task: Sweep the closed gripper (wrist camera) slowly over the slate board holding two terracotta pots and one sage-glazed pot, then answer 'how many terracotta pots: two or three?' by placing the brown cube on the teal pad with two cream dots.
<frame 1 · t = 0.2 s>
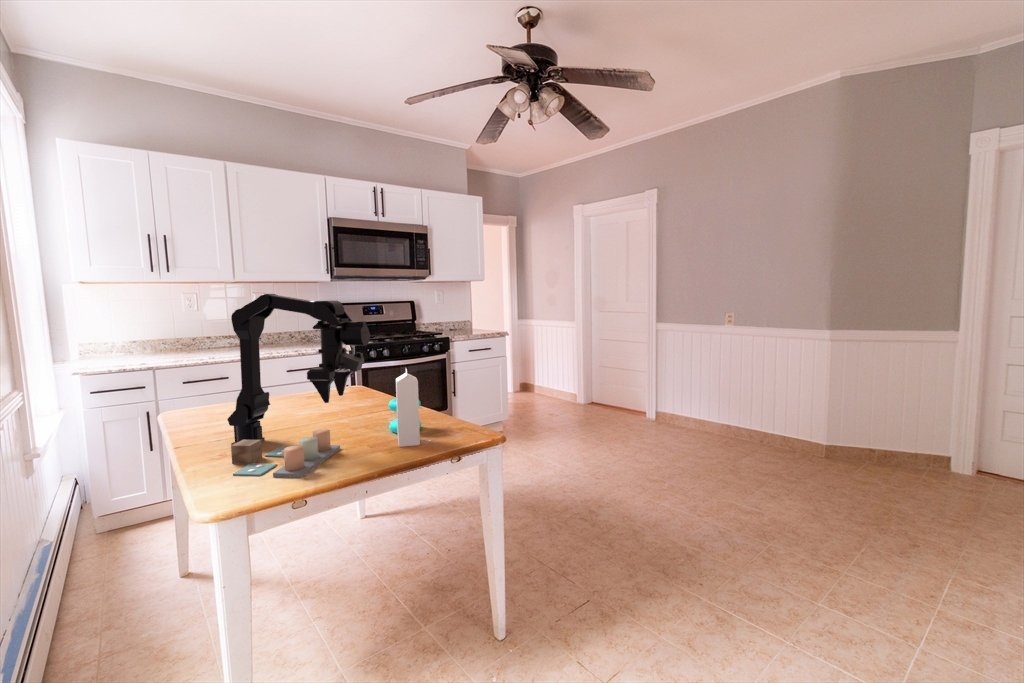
hand: (334, 399, 133), 14 cm above the table, fingers open, 9 cm apart
pad three: (284, 452, 129), on the table
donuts: (405, 430, 150), on the table
milk: (408, 443, 136), on the table
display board: (309, 461, 122), on the table
pad two: (255, 470, 116), on the table
brown cube: (247, 460, 123), on the table
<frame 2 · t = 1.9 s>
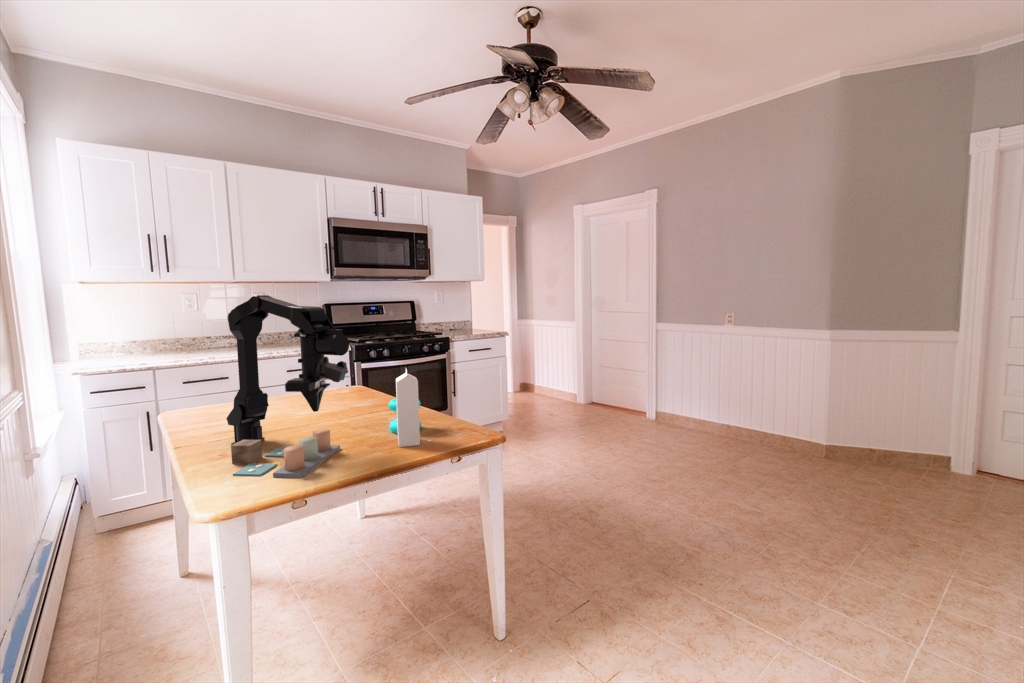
hand: (315, 411, 126), 12 cm above the table, fingers closed
nothing on the table moved.
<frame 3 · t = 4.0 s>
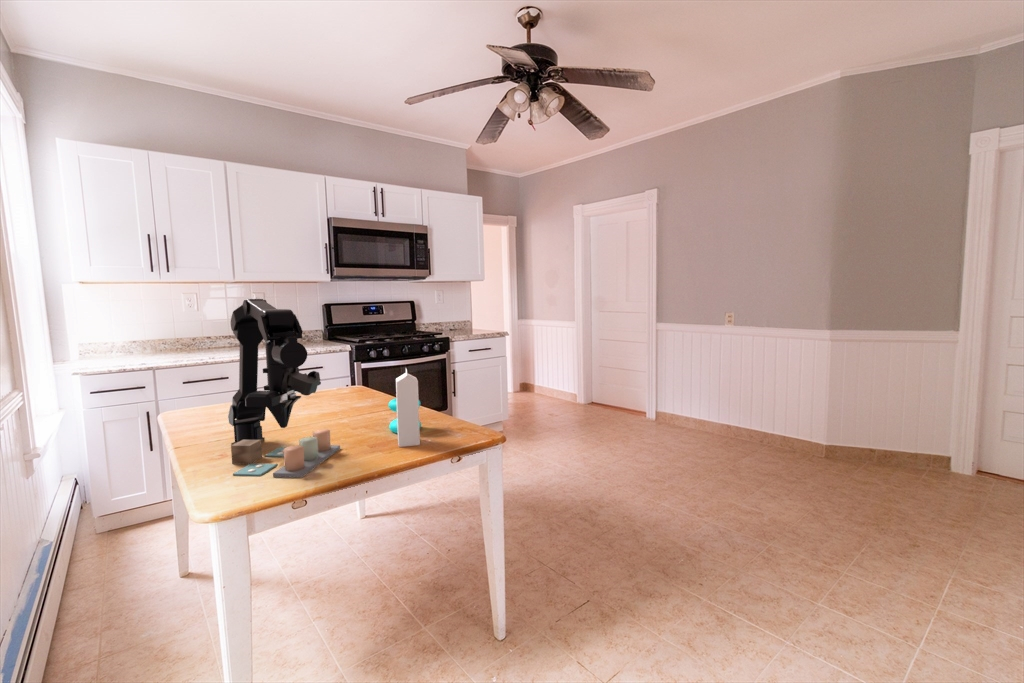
hand: (283, 427, 111), 12 cm above the table, fingers closed
nothing on the table moved.
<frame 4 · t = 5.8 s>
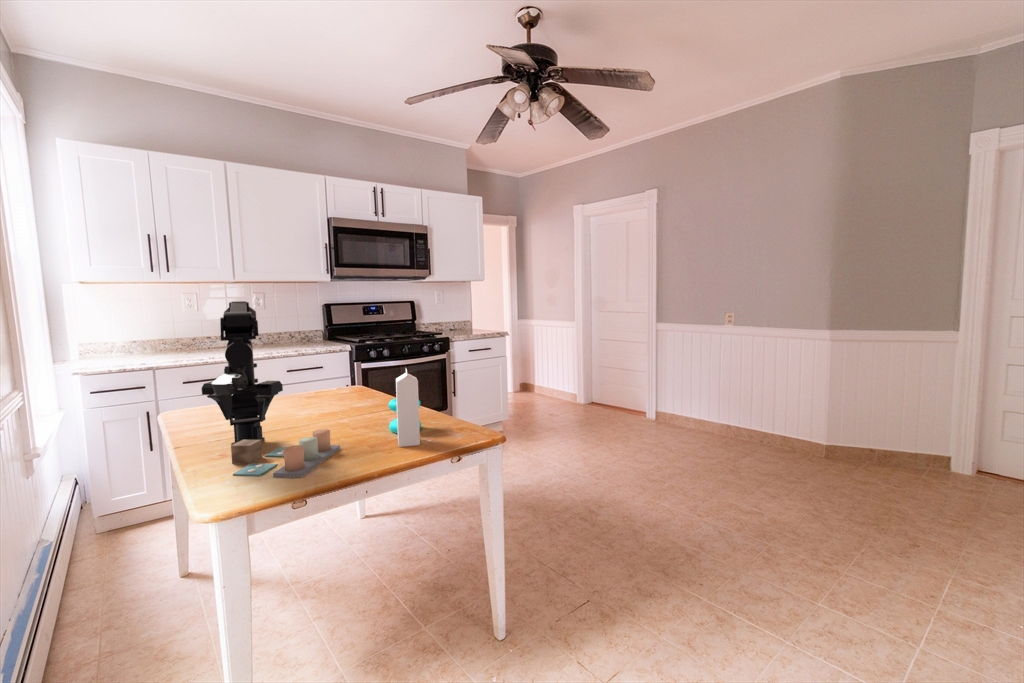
hand: (244, 419, 122), 11 cm above the table, fingers open, 9 cm apart
nothing on the table moved.
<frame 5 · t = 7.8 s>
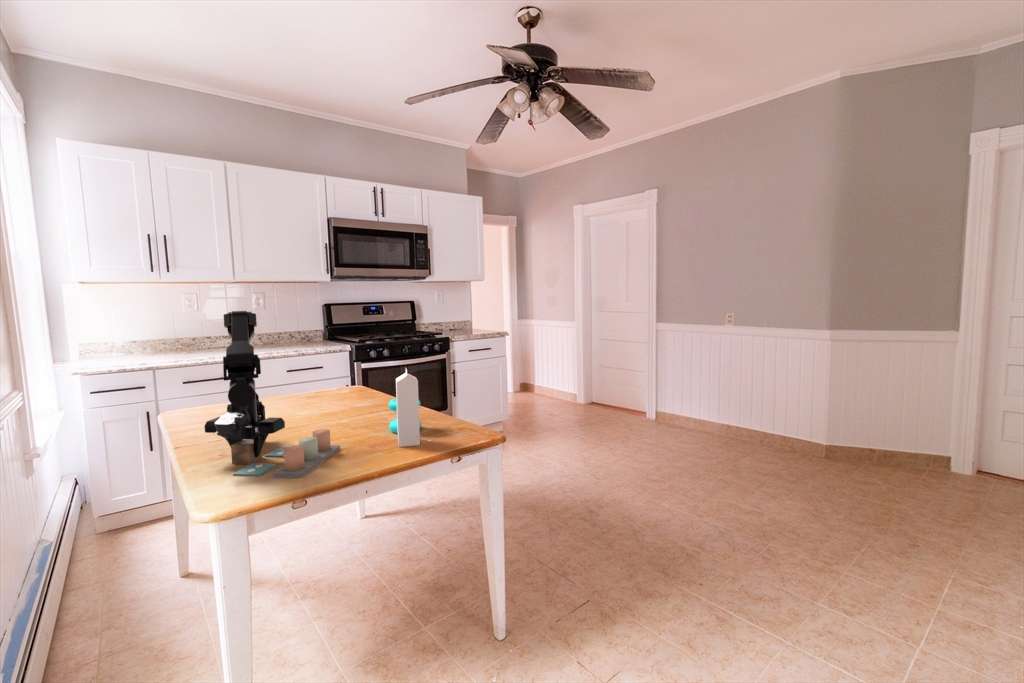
hand: (247, 456, 123), 1 cm above the table, fingers closed on brown cube, 5 cm apart
brown cube: (247, 460, 123), on the table, touching gripper
everything else where it was.
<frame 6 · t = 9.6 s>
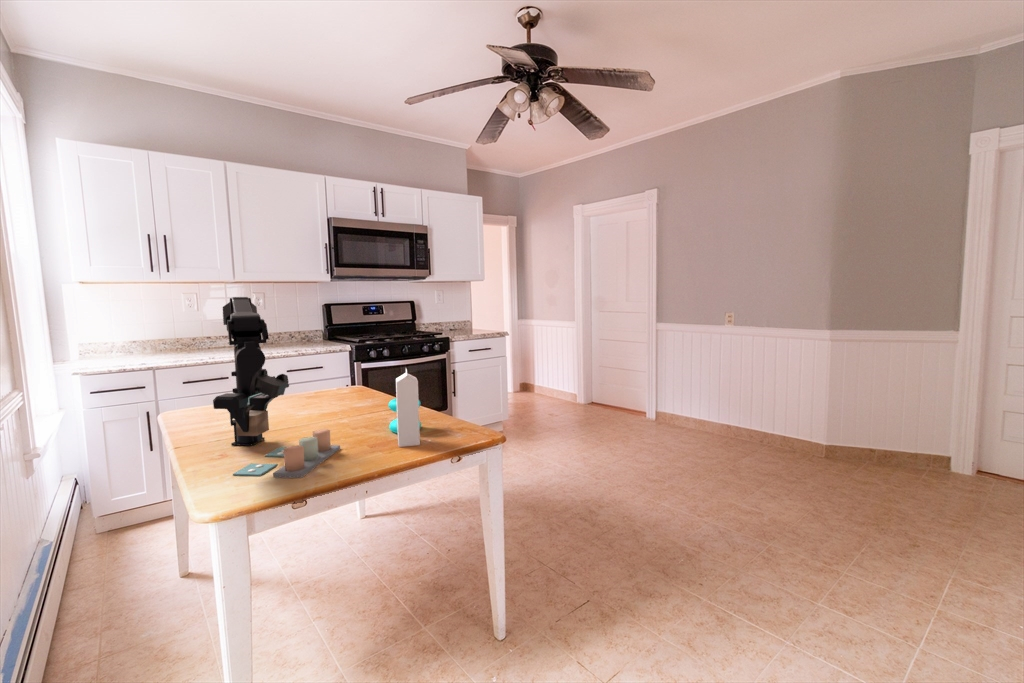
hand: (252, 428, 115), 11 cm above the table, fingers closed on brown cube, 5 cm apart
brown cube: (253, 432, 115), point 10 cm above the table, touching gripper
everything else where it was.
when the fingers open (2 cm above the table, at t = 11.8 s): brown cube stays where it is, resting on pad two.
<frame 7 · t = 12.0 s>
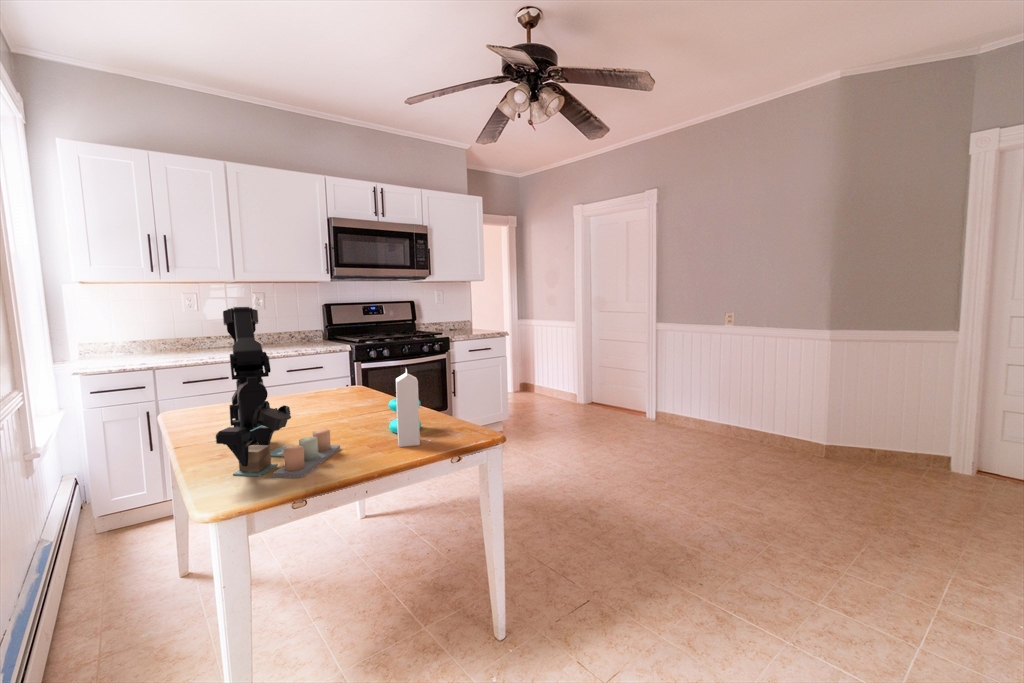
hand: (255, 460, 116), 2 cm above the table, fingers open, 7 cm apart
brown cube: (255, 467, 116), point 1 cm above the table, touching pad two
everything else where it was.
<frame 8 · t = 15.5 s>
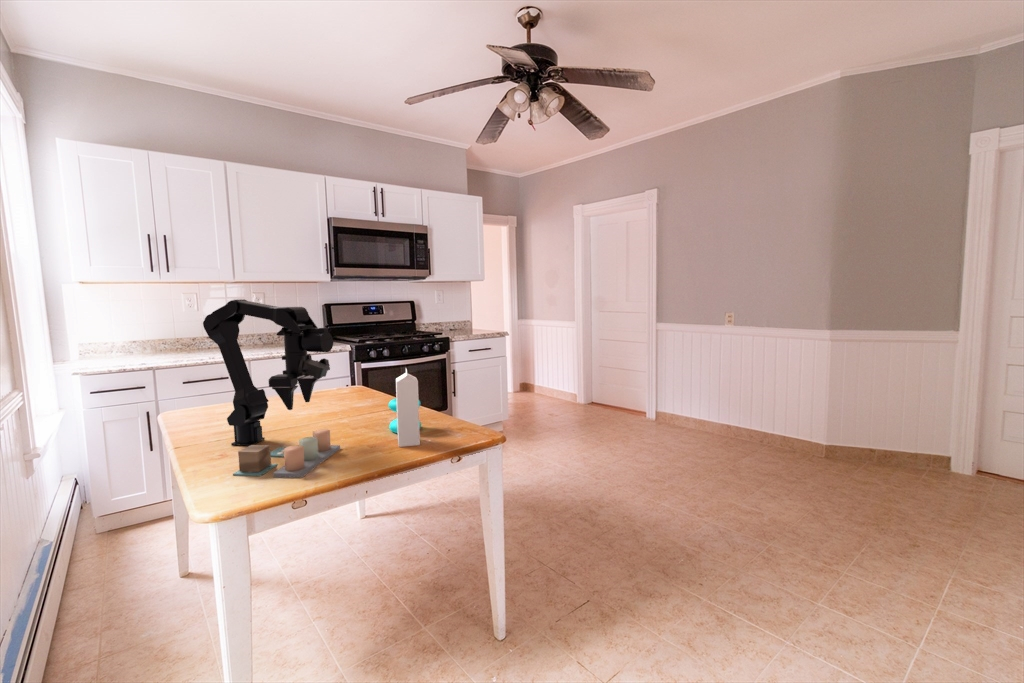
hand: (299, 405, 132), 12 cm above the table, fingers open, 9 cm apart
nothing on the table moved.
at the end: brown cube inside the target area on the pad two (0.0 cm from its centre), point 0.6 cm above the pad two's base; the gripper is holding nothing; brown cube tilted 0° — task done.
